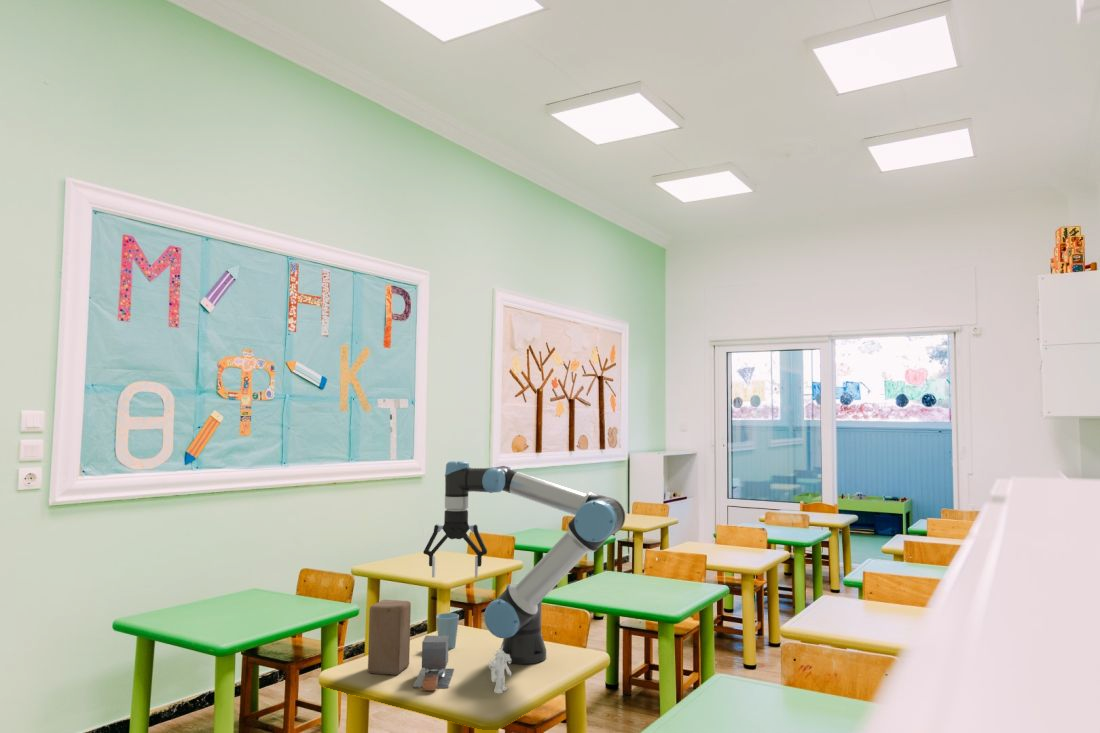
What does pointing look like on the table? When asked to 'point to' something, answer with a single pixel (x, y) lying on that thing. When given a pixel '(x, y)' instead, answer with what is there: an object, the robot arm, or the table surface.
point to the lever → (433, 678)
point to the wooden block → (389, 637)
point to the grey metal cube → (435, 651)
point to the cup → (448, 627)
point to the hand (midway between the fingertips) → (455, 576)
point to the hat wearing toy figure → (499, 669)
